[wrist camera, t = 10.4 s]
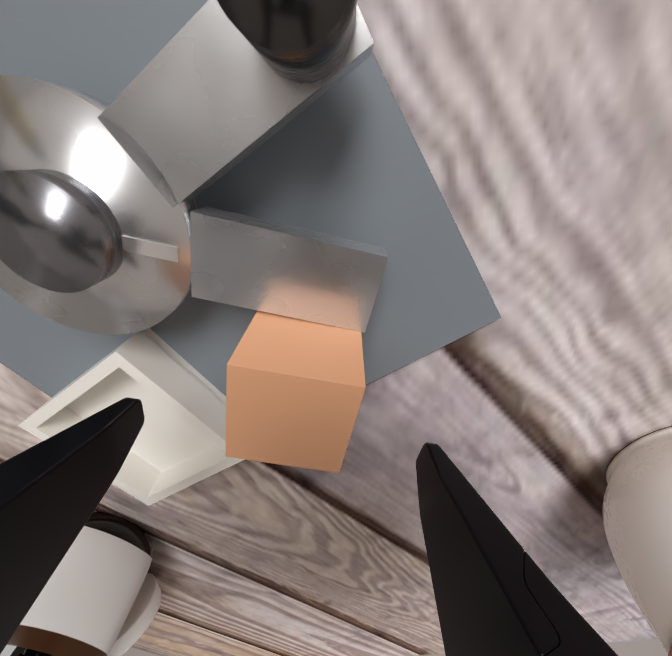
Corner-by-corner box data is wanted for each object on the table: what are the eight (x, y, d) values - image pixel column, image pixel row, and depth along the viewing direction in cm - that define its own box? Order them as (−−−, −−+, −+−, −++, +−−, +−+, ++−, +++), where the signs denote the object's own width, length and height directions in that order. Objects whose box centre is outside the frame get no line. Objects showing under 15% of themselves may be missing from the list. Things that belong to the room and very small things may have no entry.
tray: (167, 471, 21) (148, 505, 19) (55, 394, 18) (17, 425, 16) (257, 425, 18) (246, 458, 16) (146, 325, 15) (115, 351, 13)
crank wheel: (10, 298, 13) (-116, 352, 9) (-166, -220, 7) (-728, -628, 3) (348, 365, 14) (350, 435, 10) (465, -24, 8) (561, -164, 4)
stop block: (265, 356, 16) (225, 456, 11) (272, 284, 14) (226, 364, 9) (341, 369, 16) (339, 473, 11) (358, 300, 14) (365, 388, 9)
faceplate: (176, 476, 22) (149, 526, 19) (-260, 175, 13) (-440, 182, 10) (498, 314, 15) (535, 354, 12) (37, -630, 6) (-292, -1464, 3)
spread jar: (92, 489, 23) (-112, 759, 13) (214, 551, 27) (134, 794, 17) (27, 541, 27) (-167, 776, 17) (141, 588, 31) (40, 800, 21)
